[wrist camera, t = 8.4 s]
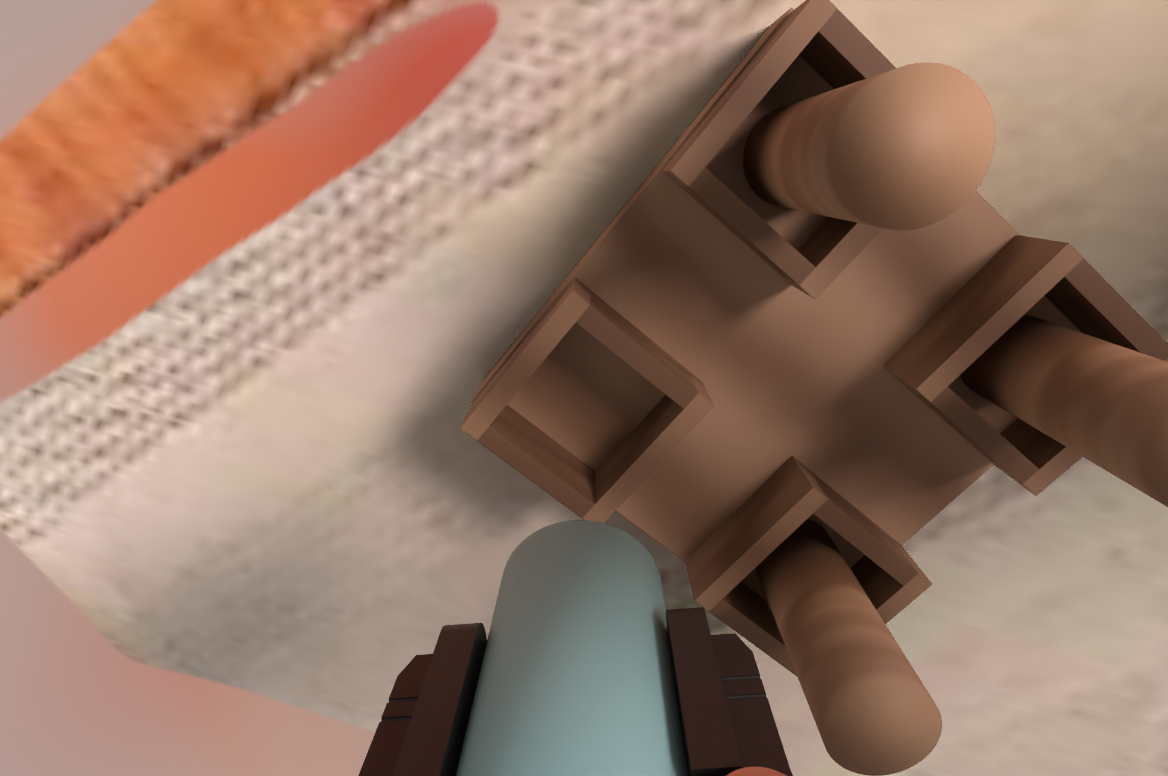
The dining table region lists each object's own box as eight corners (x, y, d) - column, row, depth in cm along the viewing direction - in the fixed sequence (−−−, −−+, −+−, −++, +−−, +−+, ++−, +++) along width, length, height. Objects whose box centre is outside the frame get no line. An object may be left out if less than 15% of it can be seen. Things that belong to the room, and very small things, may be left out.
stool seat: (770, 25, 26) (927, -107, 13) (1078, 327, 29) (1426, 442, 17) (482, 380, 31) (404, 522, 18) (776, 602, 34) (875, 847, 22)
